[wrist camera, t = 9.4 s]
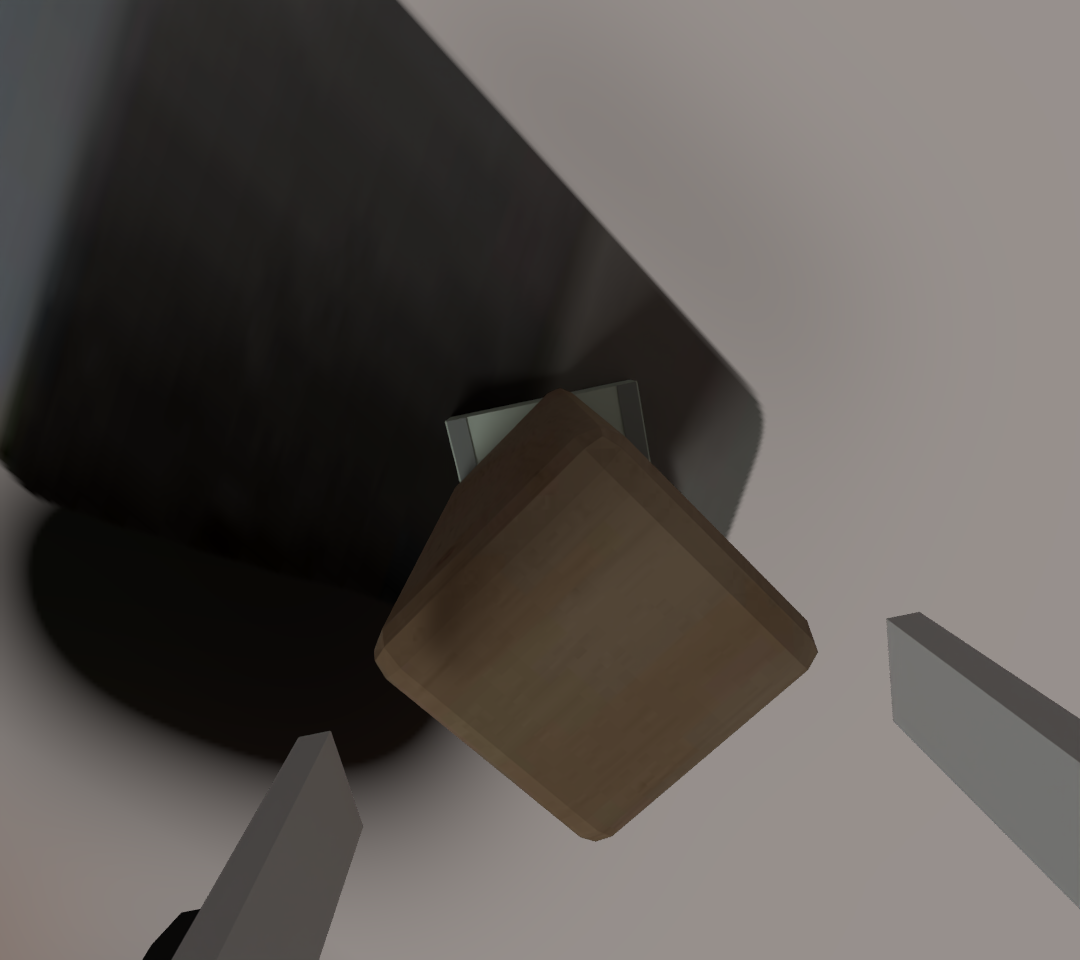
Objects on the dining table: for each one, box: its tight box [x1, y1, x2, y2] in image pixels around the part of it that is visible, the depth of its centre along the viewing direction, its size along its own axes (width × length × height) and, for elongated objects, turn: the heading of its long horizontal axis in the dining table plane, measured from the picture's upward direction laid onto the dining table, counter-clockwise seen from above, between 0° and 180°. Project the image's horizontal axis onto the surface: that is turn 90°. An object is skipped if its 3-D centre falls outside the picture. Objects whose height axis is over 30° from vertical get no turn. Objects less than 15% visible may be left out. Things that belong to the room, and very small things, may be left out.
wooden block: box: [374, 388, 818, 841], centre depth 26 cm, size 10×10×20 cm
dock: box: [445, 380, 651, 482], centre depth 37 cm, size 12×12×3 cm
